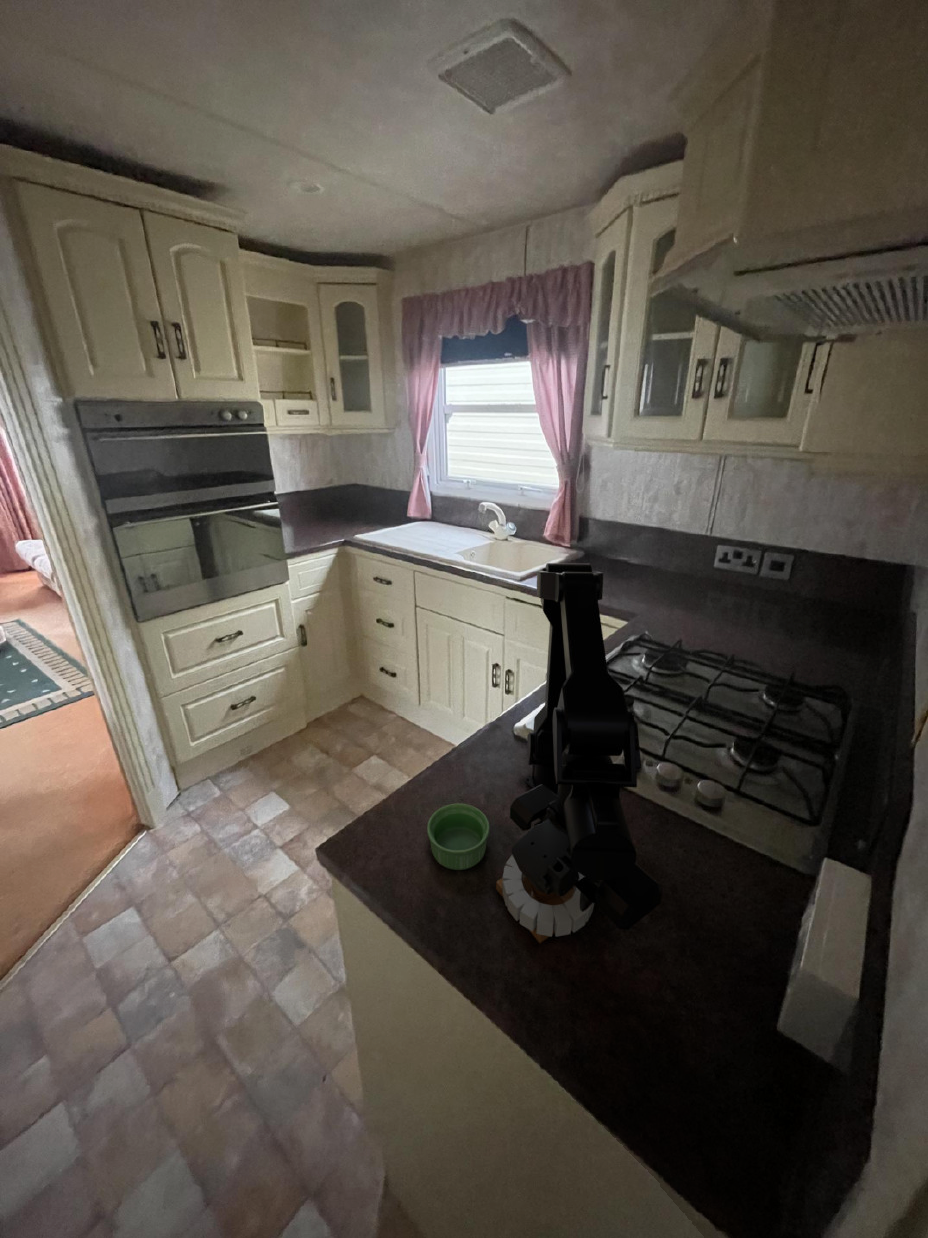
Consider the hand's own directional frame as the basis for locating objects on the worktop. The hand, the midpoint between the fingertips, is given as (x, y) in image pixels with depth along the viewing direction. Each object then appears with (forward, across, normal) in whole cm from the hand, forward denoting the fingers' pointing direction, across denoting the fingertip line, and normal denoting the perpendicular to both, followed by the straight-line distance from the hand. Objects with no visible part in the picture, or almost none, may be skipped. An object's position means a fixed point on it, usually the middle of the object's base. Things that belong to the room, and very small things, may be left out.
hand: (573, 897), depth 62 cm
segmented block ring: (+4, -4, 0) cm, 6 cm away
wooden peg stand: (+6, -5, 0) cm, 8 cm away
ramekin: (+6, -18, -5) cm, 20 cm away
